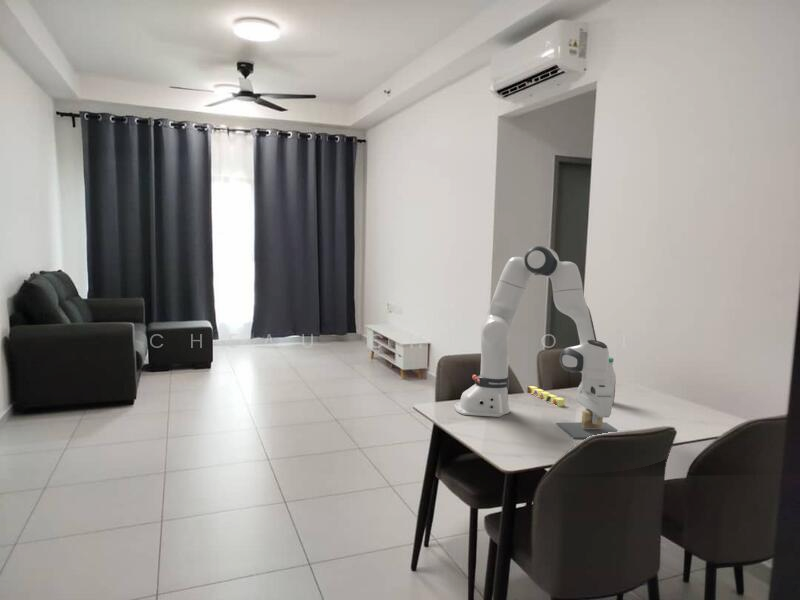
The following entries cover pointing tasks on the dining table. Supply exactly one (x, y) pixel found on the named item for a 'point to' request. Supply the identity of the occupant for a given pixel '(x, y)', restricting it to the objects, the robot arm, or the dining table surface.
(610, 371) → the milk bottle
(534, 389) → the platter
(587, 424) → the wooden u-shaped block
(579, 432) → the mat
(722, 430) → the dining table surface
